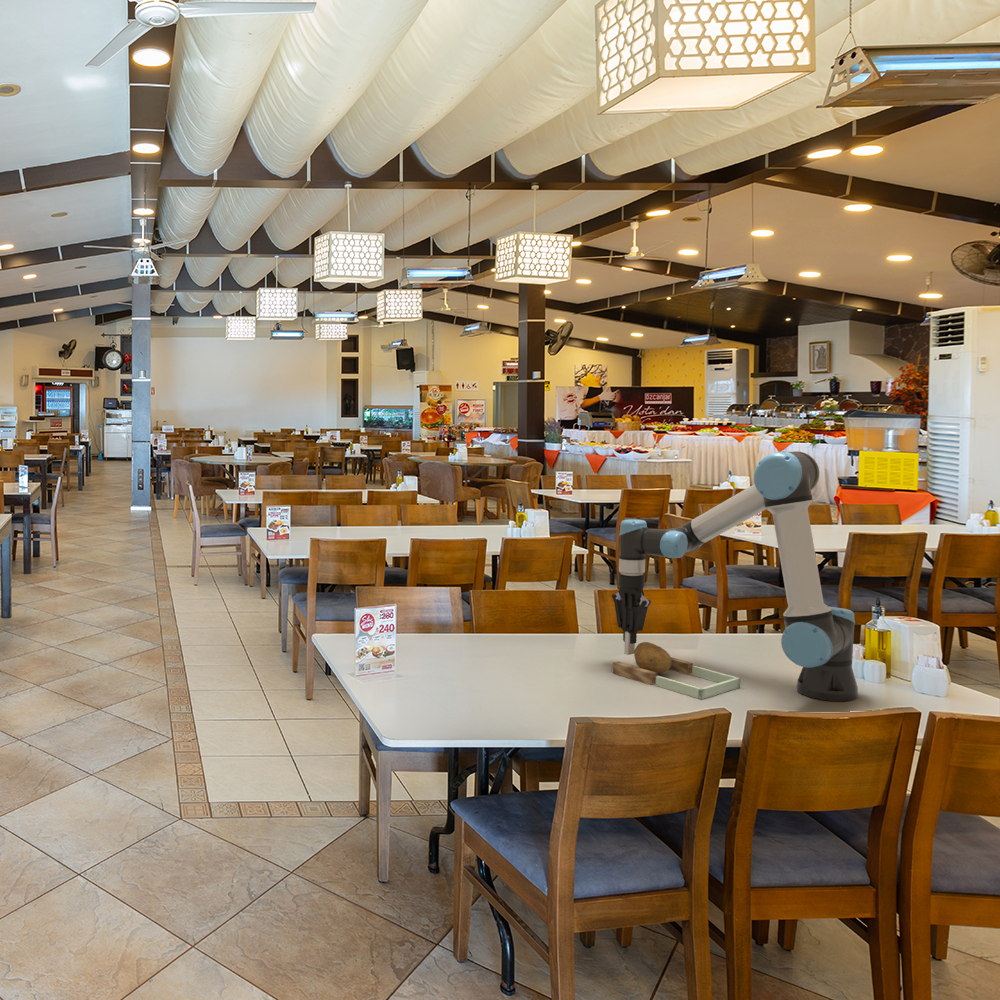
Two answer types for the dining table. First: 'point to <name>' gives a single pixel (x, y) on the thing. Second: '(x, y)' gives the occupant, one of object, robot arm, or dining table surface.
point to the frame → (722, 686)
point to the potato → (652, 658)
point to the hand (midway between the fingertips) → (629, 653)
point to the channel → (648, 675)
